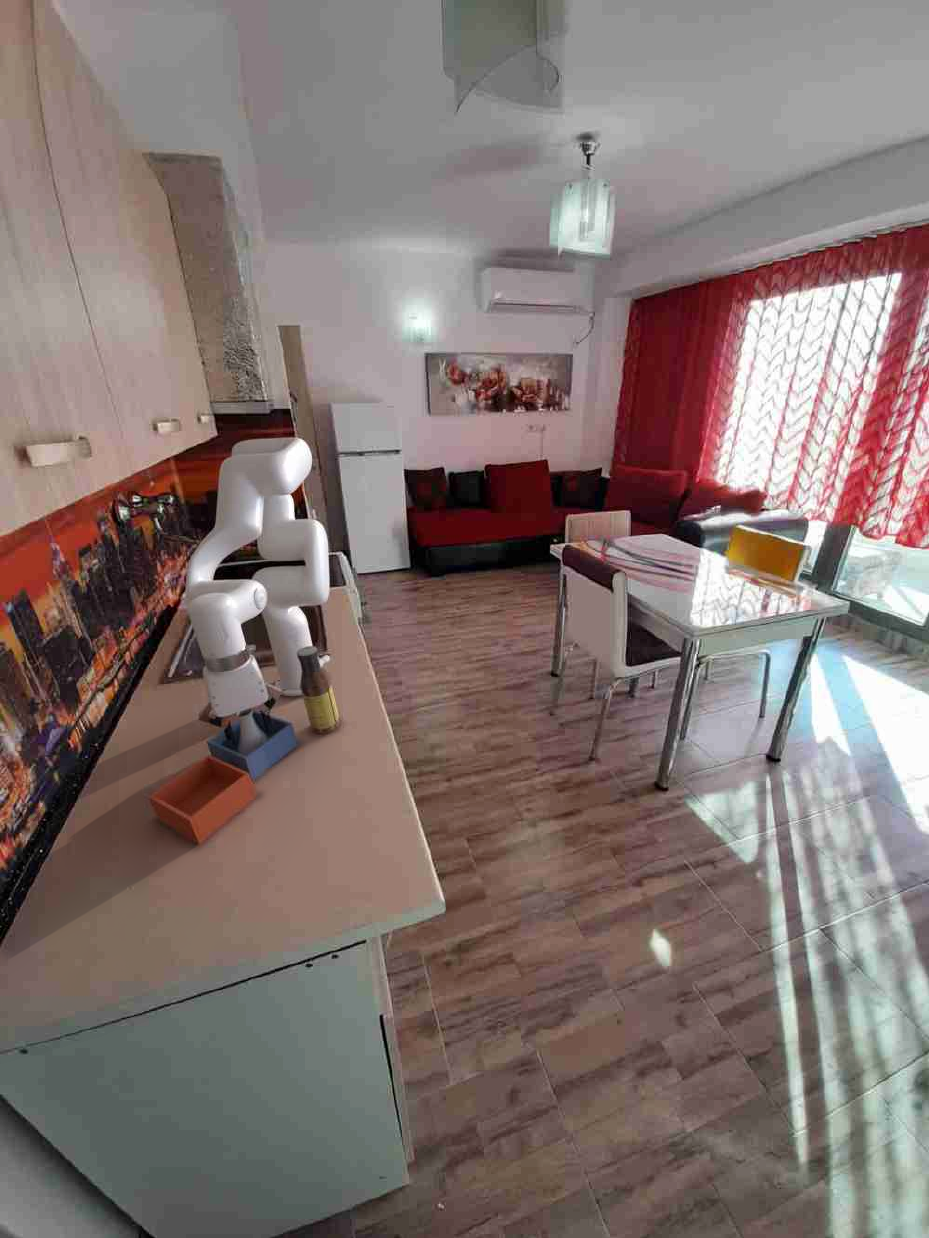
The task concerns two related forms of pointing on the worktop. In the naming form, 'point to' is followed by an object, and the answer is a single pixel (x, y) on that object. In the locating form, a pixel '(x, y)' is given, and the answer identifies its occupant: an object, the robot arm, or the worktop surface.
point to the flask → (249, 733)
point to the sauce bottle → (317, 692)
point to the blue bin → (263, 755)
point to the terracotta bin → (203, 798)
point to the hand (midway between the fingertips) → (250, 733)
